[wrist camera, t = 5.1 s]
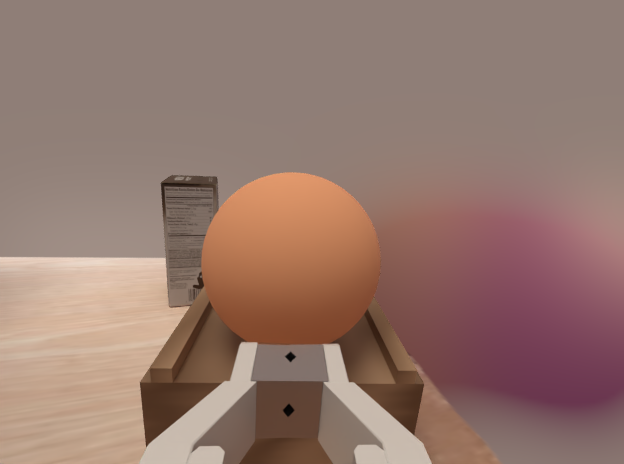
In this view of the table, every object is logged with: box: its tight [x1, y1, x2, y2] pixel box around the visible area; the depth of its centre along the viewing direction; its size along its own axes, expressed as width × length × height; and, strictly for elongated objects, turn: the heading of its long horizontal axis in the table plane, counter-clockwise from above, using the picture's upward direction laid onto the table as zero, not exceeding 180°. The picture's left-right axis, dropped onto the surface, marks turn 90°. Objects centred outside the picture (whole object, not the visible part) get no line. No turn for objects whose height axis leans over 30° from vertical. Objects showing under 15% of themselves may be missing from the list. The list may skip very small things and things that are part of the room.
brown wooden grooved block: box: [140, 287, 424, 464], centre depth 21 cm, size 14×12×10 cm
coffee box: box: [161, 175, 218, 307], centre depth 40 cm, size 9×6×16 cm
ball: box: [201, 172, 381, 344], centre depth 17 cm, size 10×10×10 cm
